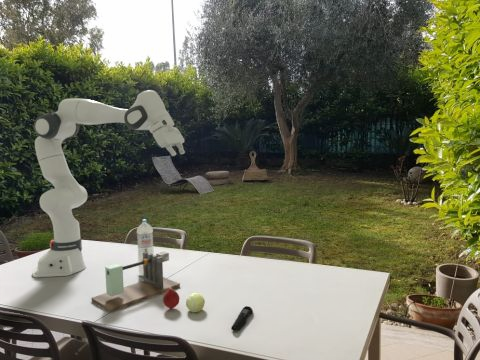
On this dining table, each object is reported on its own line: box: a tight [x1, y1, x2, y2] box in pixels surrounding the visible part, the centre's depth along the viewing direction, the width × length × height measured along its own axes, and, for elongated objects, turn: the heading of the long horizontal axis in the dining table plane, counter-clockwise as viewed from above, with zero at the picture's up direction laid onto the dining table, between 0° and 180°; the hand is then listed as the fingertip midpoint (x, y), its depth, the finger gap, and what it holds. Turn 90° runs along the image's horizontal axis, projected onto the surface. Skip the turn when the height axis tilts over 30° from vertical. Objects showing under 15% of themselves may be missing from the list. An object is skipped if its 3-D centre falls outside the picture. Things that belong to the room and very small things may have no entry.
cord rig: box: [90, 251, 181, 314], centre depth 155 cm, size 31×14×14 cm, turn 137°
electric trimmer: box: [231, 305, 254, 332], centre depth 132 cm, size 4×16×3 cm, turn 161°
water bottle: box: [136, 218, 155, 278], centre depth 176 cm, size 7×7×25 cm
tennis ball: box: [185, 292, 206, 313], centre depth 141 cm, size 6×7×7 cm
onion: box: [162, 287, 181, 310], centre depth 142 cm, size 6×6×8 cm
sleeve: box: [104, 263, 125, 296], centre depth 148 cm, size 5×4×10 cm
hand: (178, 154), depth 168 cm, fingers open, 8 cm apart
